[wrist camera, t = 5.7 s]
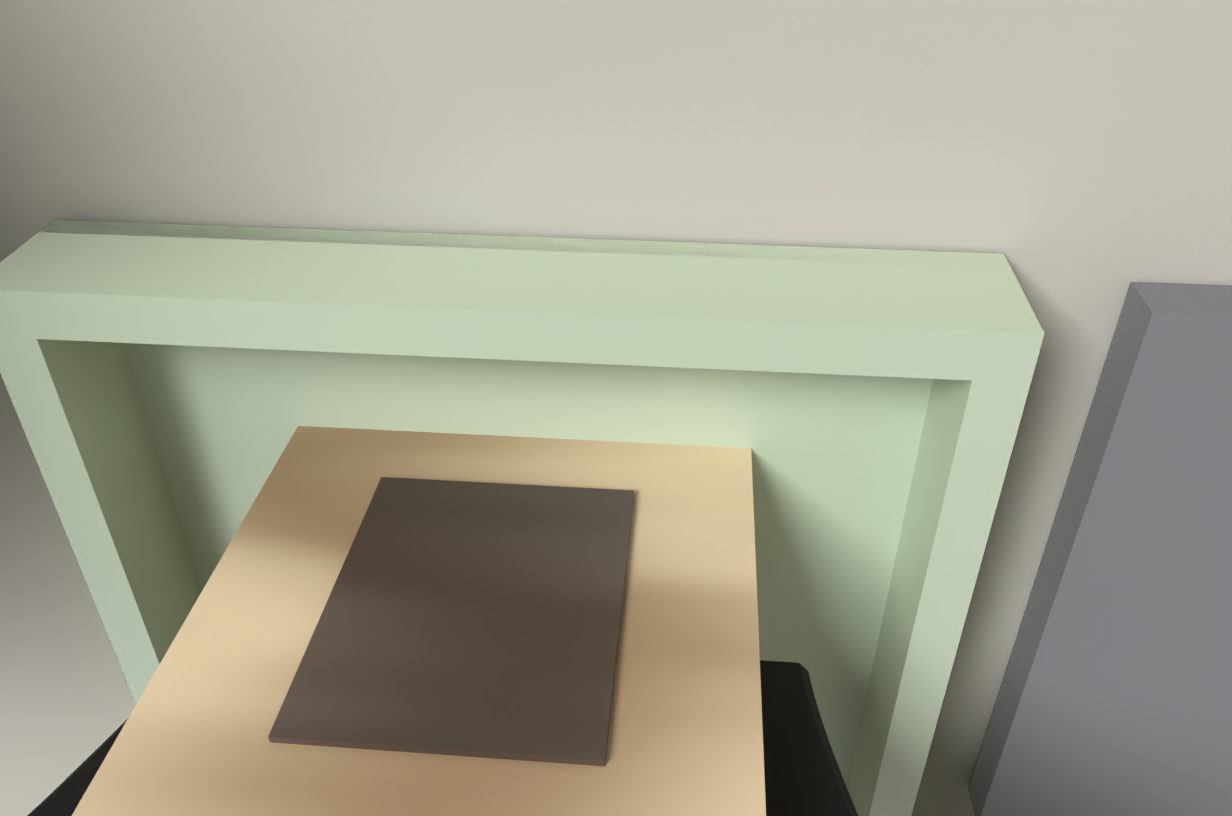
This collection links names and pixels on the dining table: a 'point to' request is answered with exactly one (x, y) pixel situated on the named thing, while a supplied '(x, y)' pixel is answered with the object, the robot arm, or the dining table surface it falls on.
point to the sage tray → (545, 413)
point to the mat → (1132, 590)
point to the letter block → (464, 639)
